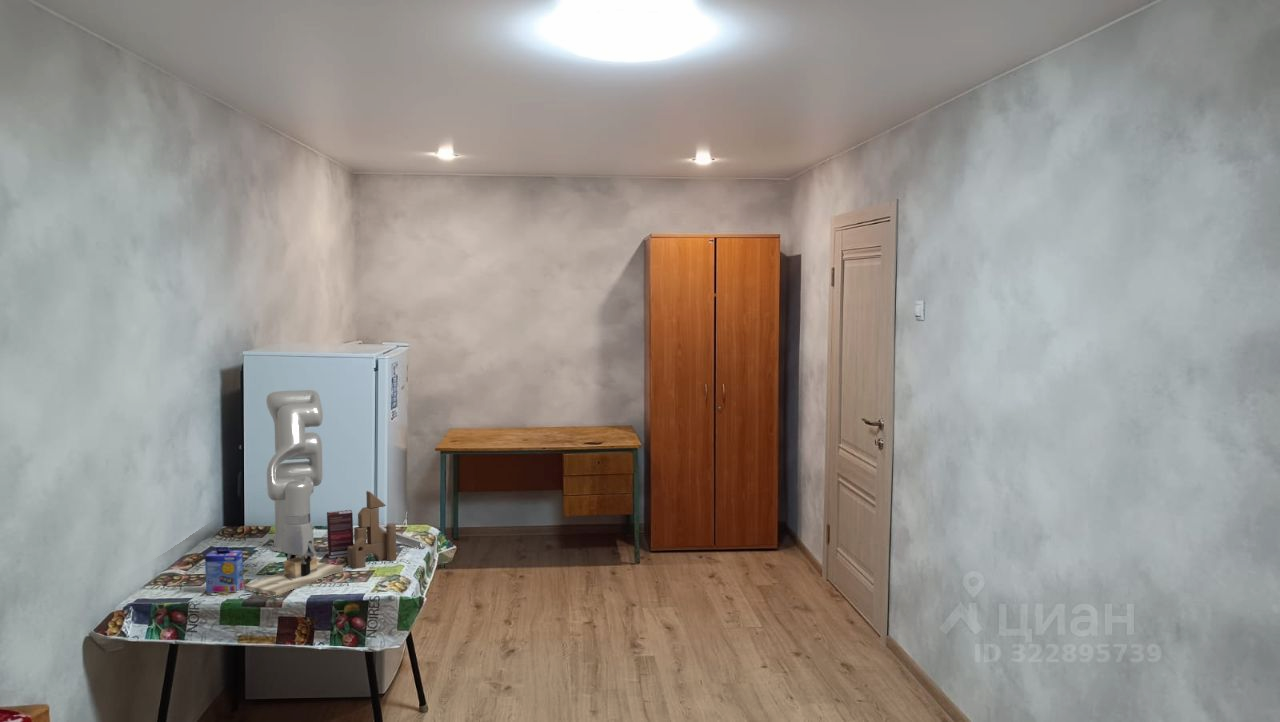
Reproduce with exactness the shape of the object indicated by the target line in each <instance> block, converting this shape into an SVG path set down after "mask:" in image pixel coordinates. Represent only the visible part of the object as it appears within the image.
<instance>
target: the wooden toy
mask: <svg viewBox="0 0 1280 722" xmlns="http://www.w3.org/2000/svg"><path fill="white" fill-rule="evenodd" d="M365 492H366V493H365V494H366V506H365V507H364V506H363V507H362V508H361V509H360V511H359V512H358V513H357V526H356V527H353V546H349V547H347V548H348V556H347V565H348V566H349V565H350V567H353V568H354V569H362V568H365V567H366V556H367V555H373V556H374V559H375V560H377V561H379V560H381V561H384V560H383V559H385V560H386V561H387V560H388V562H394V561H393V560H395V561H396V560H397V541H396V532H397V529H396V528H397V527H396V523H387V524H386V525H385V526H386V527H385V528H386V532H382V531H381V530H380V528H379V523H380V521H379V520H380V508H383V507H386V504H385V503H384V502H383V501H381V499H379V498H378V497H377V496H376V495H375V494H373V493H372V492H371V491H368V490H367V491H365ZM366 532H367V534H366ZM364 566H365V567H364ZM361 567H362V568H361Z"/></svg>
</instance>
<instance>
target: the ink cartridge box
mask: <svg viewBox="0 0 1280 722" xmlns="http://www.w3.org/2000/svg"><path fill="white" fill-rule="evenodd" d="M243 554H244V553H243V550H230V549H229V547H228V546H215V550H211V551H209V552H208V553H207V554H205V555H204V561H205V562H204V565H205V593H206V594H215V593H214V592H236V591H239V590H240V589H241V588H242V589H244V588H243V587H244V585H245V582H244V557H243ZM242 589H241V590H242ZM241 590H240V591H241ZM240 591H239V592H240Z"/></svg>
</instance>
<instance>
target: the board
mask: <svg viewBox="0 0 1280 722" xmlns="http://www.w3.org/2000/svg"><path fill="white" fill-rule="evenodd" d="M341 571H342V572H344V566H342V565H341V566H340V565H336V564H335V565H334V564H329V563H324V562H319V561H317V571H315V572H312V573H310V574H308V575H305V576H301V577H298V578H296V579H295V578H290V577H286V576H284V571H281V572H278V573H276V574H272V575H270V576H266V577H264V578H260V579H258V580H254V581H252V582H249V583H246V584H244V588H243V590H244V589H248V590H252V591H257V592H262V593H267V594H270V595H275V596H277V595H279V594H282V593H284V592H287V591H290V590H292V591H294V590H293V589H295V588H298V587H300V588H303V587H305V586H304V585H306V586H308V585H310V584H309V583H311V582H313V583H315V582H314V581H316V580H318V579H321V578H323V577H326V576H329V575H332V574H335V573H337V574H339V573H338V572H340V573H342V572H341ZM335 575H336V574H335ZM332 576H333V575H332ZM329 577H330V576H329ZM321 580H322V579H321ZM316 582H317V581H316ZM307 584H308V585H307ZM311 584H312V583H311ZM302 586H303V587H302ZM298 589H299V588H298ZM295 590H296V589H295ZM252 591H251V592H252ZM290 592H291V591H290ZM287 593H288V592H287ZM284 594H285V593H284ZM270 595H269V596H270ZM282 595H283V594H282ZM275 596H274V597H275ZM279 596H280V595H279ZM277 597H278V596H277Z"/></svg>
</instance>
